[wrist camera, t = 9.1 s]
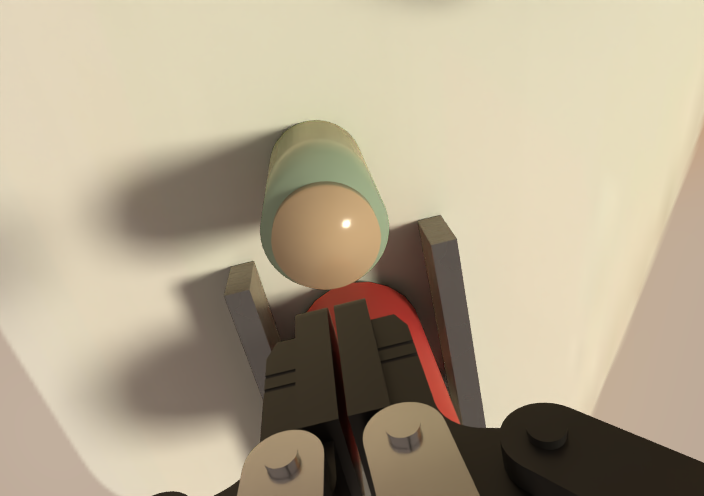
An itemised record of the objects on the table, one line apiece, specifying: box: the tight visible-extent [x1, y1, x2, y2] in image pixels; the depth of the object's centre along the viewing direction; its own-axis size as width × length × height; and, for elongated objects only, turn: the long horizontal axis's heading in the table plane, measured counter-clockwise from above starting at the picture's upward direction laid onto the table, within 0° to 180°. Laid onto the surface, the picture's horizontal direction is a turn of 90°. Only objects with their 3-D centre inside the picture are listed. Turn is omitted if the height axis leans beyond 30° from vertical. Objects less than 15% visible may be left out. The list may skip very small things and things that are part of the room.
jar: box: [260, 120, 389, 290], centre depth 22 cm, size 4×4×9 cm
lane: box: [224, 215, 486, 428], centre depth 29 cm, size 18×11×5 cm, turn 13°
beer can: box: [307, 282, 460, 496], centre depth 24 cm, size 7×7×12 cm
